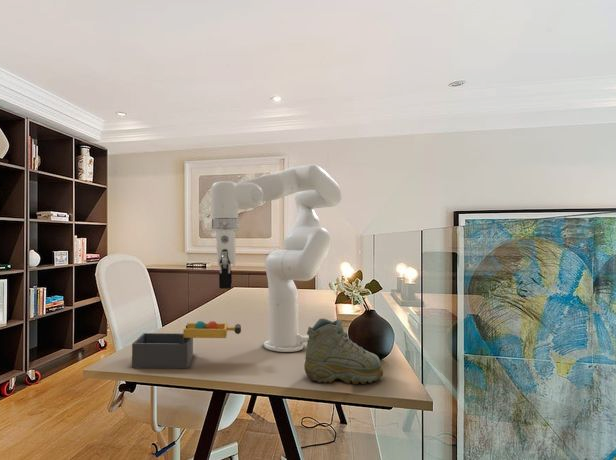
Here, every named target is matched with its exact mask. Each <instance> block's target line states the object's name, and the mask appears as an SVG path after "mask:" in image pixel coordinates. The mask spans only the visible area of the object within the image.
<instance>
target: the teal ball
mask: <svg viewBox="0 0 616 460" xmlns="http://www.w3.org/2000/svg"><path fill="white" fill-rule="evenodd" d="M195 323H196V324H195V329H206V325H205V323H206V322H204V321H202V320H199V321H197V322H195Z"/></svg>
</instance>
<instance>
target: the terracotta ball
mask: <svg viewBox="0 0 616 460" xmlns="http://www.w3.org/2000/svg"><path fill="white" fill-rule="evenodd" d="M207 323H208V324H207V329H218V324H217V323H218V322H216V321H214V320H211V321H209V322H207Z"/></svg>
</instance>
